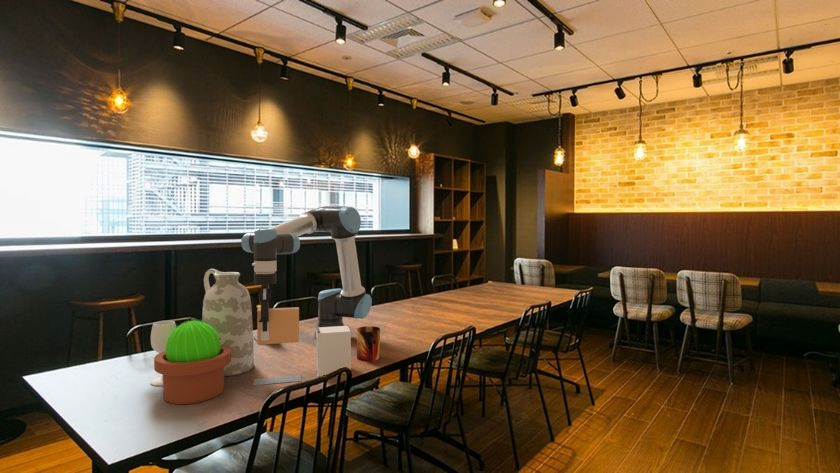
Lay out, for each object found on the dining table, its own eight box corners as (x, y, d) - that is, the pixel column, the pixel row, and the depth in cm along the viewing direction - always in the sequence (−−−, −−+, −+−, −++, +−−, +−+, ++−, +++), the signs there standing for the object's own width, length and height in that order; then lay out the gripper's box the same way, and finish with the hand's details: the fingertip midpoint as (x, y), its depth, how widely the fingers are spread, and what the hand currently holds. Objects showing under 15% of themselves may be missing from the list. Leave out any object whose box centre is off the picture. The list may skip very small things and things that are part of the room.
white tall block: (316, 368, 173) (316, 326, 172) (347, 366, 176) (347, 324, 176) (317, 376, 164) (317, 331, 164) (350, 373, 168) (350, 329, 167)
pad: (254, 379, 161) (254, 379, 161) (300, 375, 165) (300, 374, 165) (253, 385, 155) (253, 385, 155) (301, 381, 160) (301, 380, 160)
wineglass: (158, 377, 162) (157, 319, 161) (183, 377, 163) (182, 319, 162) (145, 386, 154) (144, 325, 153) (172, 385, 154) (171, 325, 153)
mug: (373, 365, 178) (374, 335, 177) (352, 357, 187) (352, 329, 187) (391, 359, 185) (391, 330, 184) (369, 352, 194) (369, 325, 194)
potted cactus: (180, 414, 132) (179, 330, 131) (141, 398, 144) (140, 320, 143) (244, 390, 151) (244, 316, 150) (205, 377, 163) (204, 309, 161)
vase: (264, 364, 178) (263, 268, 176) (230, 380, 160) (229, 273, 159) (223, 358, 184) (222, 265, 183) (186, 373, 167) (184, 270, 165)
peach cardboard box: (257, 342, 159) (257, 308, 159) (298, 340, 164) (298, 307, 163) (257, 344, 157) (257, 310, 156) (298, 342, 161) (299, 308, 160)
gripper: (255, 270, 165) (255, 333, 165) (252, 275, 149) (252, 345, 150) (276, 270, 167) (276, 332, 167) (276, 275, 151) (275, 344, 152)
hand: (265, 338), depth 159 cm, fingers closed on peach cardboard box, 3 cm apart
